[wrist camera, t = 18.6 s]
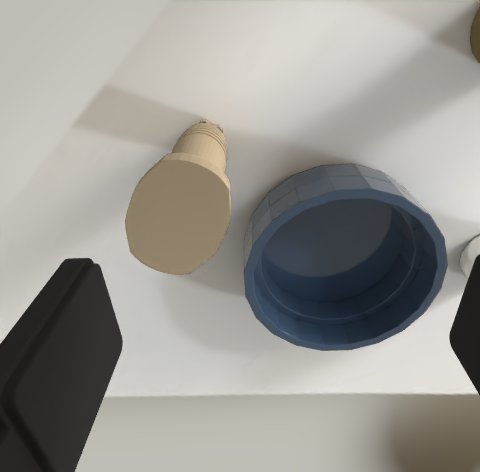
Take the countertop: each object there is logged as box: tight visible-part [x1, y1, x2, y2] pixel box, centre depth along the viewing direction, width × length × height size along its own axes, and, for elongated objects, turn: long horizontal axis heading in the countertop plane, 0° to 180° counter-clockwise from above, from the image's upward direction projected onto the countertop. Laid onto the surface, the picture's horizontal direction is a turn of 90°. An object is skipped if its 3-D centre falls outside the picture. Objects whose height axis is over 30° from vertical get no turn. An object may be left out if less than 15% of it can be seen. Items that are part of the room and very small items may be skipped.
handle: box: [125, 120, 231, 275], centre depth 25 cm, size 5×6×15 cm
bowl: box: [244, 164, 448, 351], centre depth 34 cm, size 17×17×6 cm
